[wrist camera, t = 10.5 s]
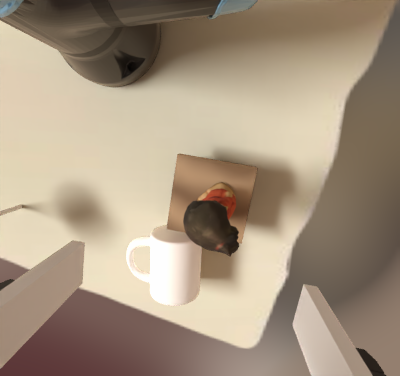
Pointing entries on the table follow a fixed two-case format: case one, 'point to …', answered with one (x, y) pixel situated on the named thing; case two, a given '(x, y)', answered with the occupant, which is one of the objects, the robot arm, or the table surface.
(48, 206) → the table surface
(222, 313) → the table surface
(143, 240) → the mug
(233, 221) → the tan legged square part
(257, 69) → the table surface
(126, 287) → the table surface
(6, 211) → the lollipop
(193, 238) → the figurine
